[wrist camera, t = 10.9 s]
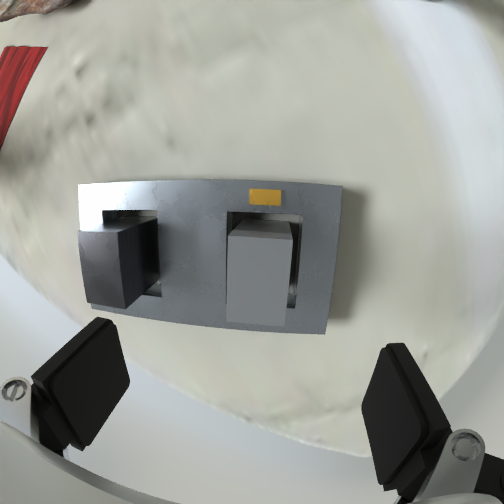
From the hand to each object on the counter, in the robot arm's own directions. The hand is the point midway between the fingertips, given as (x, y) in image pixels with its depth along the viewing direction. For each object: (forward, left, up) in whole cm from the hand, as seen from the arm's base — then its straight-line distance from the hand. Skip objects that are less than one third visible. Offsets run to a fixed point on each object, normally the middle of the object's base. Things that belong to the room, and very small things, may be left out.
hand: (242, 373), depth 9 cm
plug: (0, 0, -17) cm, 17 cm away
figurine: (+44, -20, -18) cm, 51 cm away
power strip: (+6, 0, -17) cm, 18 cm away
